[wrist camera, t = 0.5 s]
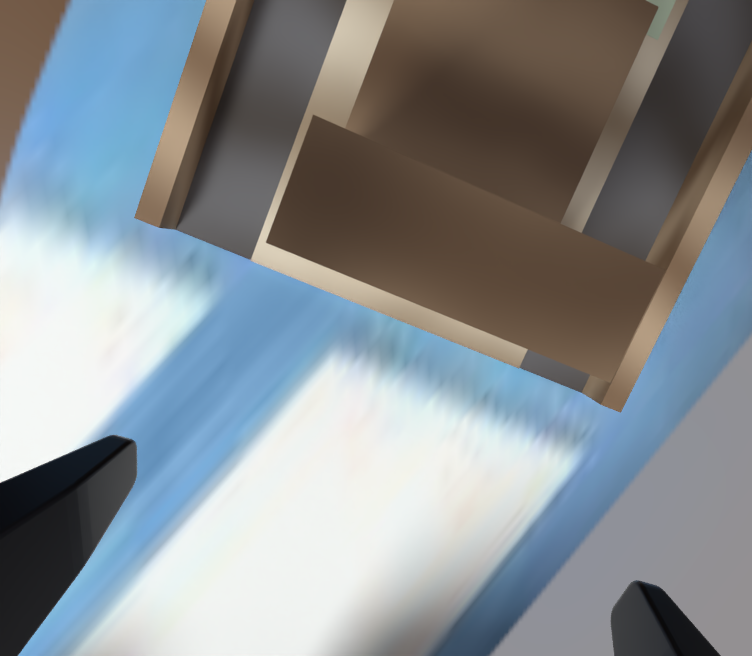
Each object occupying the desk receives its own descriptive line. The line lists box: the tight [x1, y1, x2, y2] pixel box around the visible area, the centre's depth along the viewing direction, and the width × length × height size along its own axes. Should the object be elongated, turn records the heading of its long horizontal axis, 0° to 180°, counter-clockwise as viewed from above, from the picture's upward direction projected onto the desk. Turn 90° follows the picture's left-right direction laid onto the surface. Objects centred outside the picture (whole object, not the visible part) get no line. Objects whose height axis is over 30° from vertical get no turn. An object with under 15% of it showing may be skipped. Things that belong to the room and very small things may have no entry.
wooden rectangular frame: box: [134, 0, 752, 412], centre depth 19 cm, size 25×22×3 cm
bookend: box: [266, 0, 665, 383], centre depth 16 cm, size 13×9×10 cm
